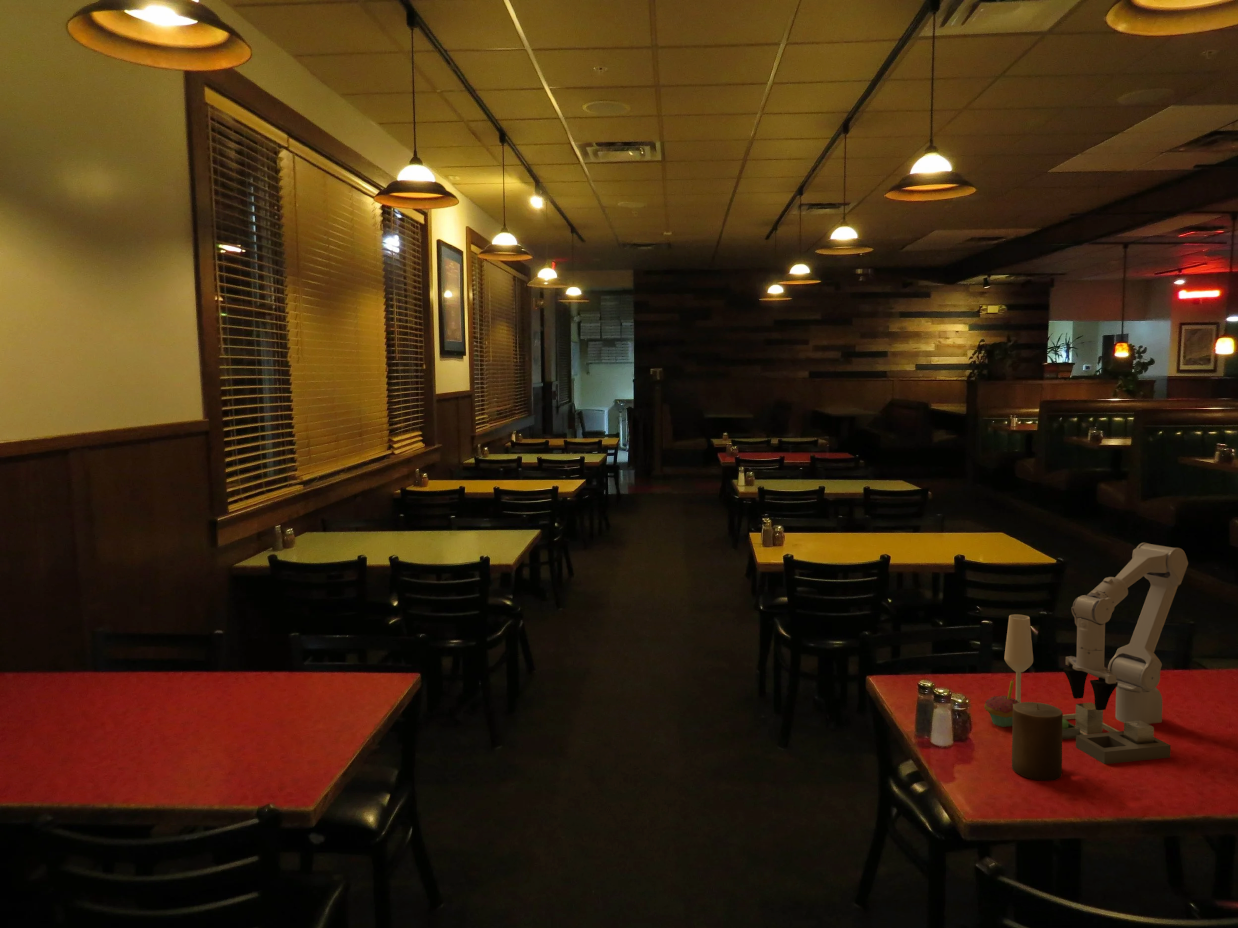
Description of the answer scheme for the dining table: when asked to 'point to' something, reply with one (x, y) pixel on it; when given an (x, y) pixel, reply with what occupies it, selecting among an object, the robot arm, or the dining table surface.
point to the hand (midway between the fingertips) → (1089, 703)
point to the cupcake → (1001, 708)
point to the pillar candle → (1037, 741)
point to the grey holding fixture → (1120, 748)
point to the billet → (1089, 718)
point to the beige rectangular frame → (1073, 716)
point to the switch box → (1070, 731)
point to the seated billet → (1138, 732)
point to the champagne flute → (1019, 647)
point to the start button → (1064, 723)
